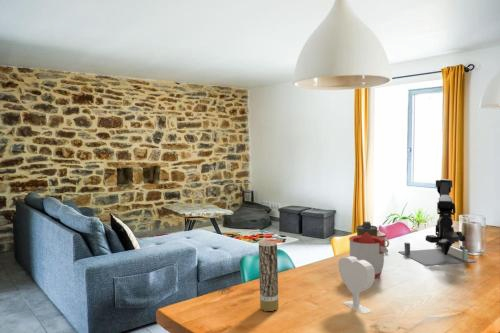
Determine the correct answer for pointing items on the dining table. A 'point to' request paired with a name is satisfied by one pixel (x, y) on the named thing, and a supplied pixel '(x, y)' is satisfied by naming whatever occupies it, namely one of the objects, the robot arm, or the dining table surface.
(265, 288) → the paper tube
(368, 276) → the heart sculpture
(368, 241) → the citrus juicer
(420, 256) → the mat
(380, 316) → the dining table surface
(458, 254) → the cream rectangular bar
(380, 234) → the teacup with lid
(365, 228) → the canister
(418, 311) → the dining table surface
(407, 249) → the posts
